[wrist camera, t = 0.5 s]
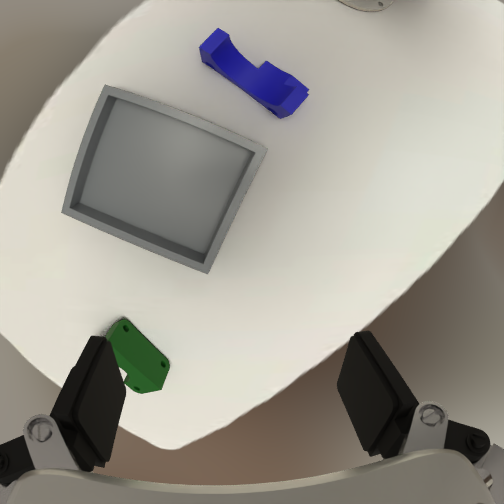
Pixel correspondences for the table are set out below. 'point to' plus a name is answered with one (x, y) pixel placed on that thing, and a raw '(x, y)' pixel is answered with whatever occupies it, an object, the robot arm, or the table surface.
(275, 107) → the blue long angular piece
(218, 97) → the table surface
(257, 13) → the table surface
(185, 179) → the gray tray
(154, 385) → the clamp
